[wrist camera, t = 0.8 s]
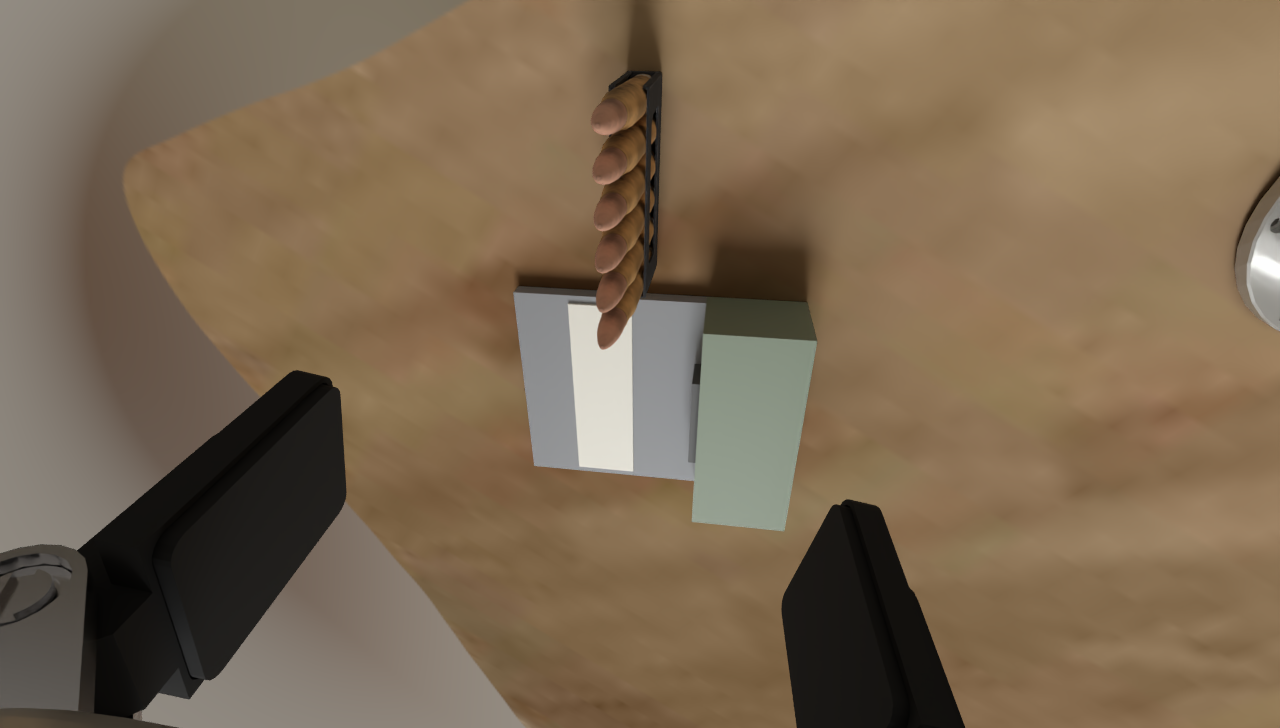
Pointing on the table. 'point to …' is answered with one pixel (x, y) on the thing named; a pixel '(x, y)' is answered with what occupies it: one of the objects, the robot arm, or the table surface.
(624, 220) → the ammunition clip
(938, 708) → the robot arm
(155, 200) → the table surface
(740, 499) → the plate with green block
